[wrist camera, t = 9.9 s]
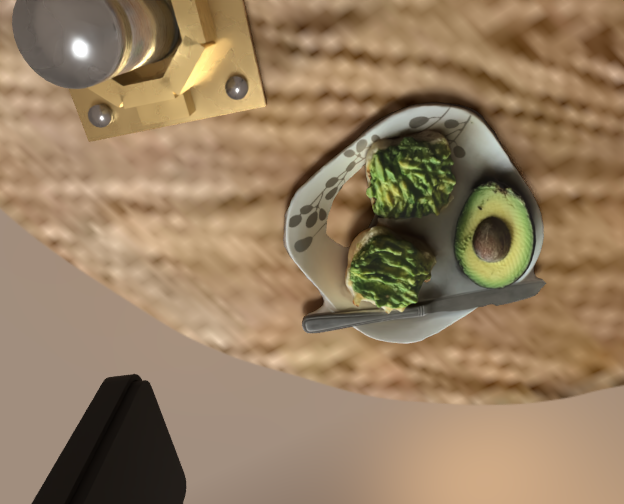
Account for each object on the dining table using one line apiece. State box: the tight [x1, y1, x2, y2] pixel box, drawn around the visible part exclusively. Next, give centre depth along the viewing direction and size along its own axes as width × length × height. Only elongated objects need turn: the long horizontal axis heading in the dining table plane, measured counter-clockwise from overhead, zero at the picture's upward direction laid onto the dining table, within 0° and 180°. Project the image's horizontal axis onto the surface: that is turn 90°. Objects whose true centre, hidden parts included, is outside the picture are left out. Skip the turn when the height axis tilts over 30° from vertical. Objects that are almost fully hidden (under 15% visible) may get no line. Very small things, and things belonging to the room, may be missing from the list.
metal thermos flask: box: [12, 0, 182, 89], centre depth 26 cm, size 4×4×12 cm
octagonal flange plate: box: [69, 0, 267, 142], centre depth 30 cm, size 12×12×5 cm
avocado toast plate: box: [283, 102, 546, 343], centre depth 37 cm, size 19×18×5 cm
